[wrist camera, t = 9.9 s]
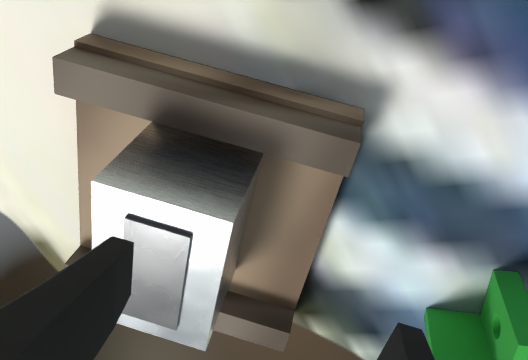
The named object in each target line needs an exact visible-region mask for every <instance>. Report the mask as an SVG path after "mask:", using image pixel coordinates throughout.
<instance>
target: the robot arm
mask: <svg viewBox="0 0 528 360" xmlns="http://www.w3.org/2000/svg"><path fill="white" fill-rule="evenodd" d="M133 253H134V242H131V241H128V240H125V239H122V238H118V237H115V236H111V237H109V238H108V239H106V240H105V241H103V242H102V243H101V244H99V245H98V246H96V247H95V248H94V249H92V250H91V251H89V252H88V253H86V254H85V255H84V256H82V257H81V258H79V259H78V260H76V261H75V262H73V263H72V264H70V265H69V266H67V267H66V268H64V269H63V270H61V271H60V272H58V273H57V274H55V275H54V276H52V277H51V278H49V279H48V280H46V281H45V282H43V283H41V284H40V285H38V286H37V287H35V288H33V289H32V290H30V291H28V292H26V293H25V294H23V295H21V296H20V297H18V298H16V299H15V300H13V301H11V302H10V303H8V304H6V305H4V306H3V307H1V308H0V360H93V359H94V358H95V356H96V355H97V353H98V352H99V350H100V349H101V347H102V346H103V344H104V343H105V341H106V340H107V338H108V337H109V335H110V333H111V332H112V330H113V329H114V327H115V325H116V323H117V321H118V319H119V318H120V316H121V314H122V312H123V310H124V308H125V306H126V304H127V302H128V300H129V298H130V296H131V287H132V270H133ZM377 360H435V358H434V356H433V354H432V351H431V349H430V347H429V344H428V342H427V340H426V338H425V335H424V333H423V331H422V330H421V329H418V328H415V327H411V326H408V325H405V324H401V323H398V324H397V326H396V327H395V329H394V331H393V333H392V334H391V336H390V338H389V340H388V341H387V343H386V345H385V347H384V348H383V350H382V352H381V354H380V355H379V357H378V359H377Z"/></svg>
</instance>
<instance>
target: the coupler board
mask: <svg viewBox="0 0 528 360" xmlns="http://www.w3.org/2000/svg"><path fill="white" fill-rule="evenodd" d="M52 58H53V75H54V92H55V94H58V95H61V96H65V97H68V98H72V99H75V100H76V114H77V147H78V180H79V212H80V247H79V248H78V249H77V250H76V251H75V252H74V254H73V255H72V256H71V257H70V258H69V259H68V261H67V262H66V263H65V268H66V267H67V266H69V265H70V264H72V263H73V262H75V261H76V260H78V259H79V258H81V257H82V256H84V255H85V254H86V253H88V252H89V251H91V250H92V201H91V181H92V180H93V179H94V178H95V177H96V176H97V175H98V174H99V173H100V172H101V171H102V170H103V169H104V168H105V167H106V166H107V165H108V164H109V163H110V162H111V161H112V160H113V159H114V158H115V157H116V156H117V155H118V154H119V153H120V152H121V151H122V150H123V149H124V148H125V147H126V146H127V145H129V144H130V143H131V142H132V141H133V140H134V139H135V138H136V137H137V136H138V135H139V134H140V133H141V132H142V131H143V130H144V129H145V128H146V127H147V126H148V125H149V124H150V123H151V122H156V123H159V124H163V125H166V126H170V127H173V128H177V129H180V130H184V131H187V132H191V133H194V134H198V135H201V136H205V137H208V138H212V139H215V140H219V141H222V142H226V143H229V144H233V145H236V146H240V147H243V148H246V149H250V150H253V151H257V152H260V153H263V158H262V162H261V166H260V170H259V174H258V178H257V183H256V187H255V191H254V195H253V199H252V203H251V208H250V212H249V216H248V220H247V224H246V228H245V233H244V237H243V241H242V245H241V249H240V253H239V258H238V262H237V266H236V270H235V273H234V275H233V278H232V281H231V283H230V286H229V289H228V291H227V294H226V297H225V299H224V302H223V305H222V307H221V310H220V313H219V316H218V318H217V321H216V324H215V326H214V329H213V330H214V331H218V332H221V333H224V334H227V335H230V336H234V337H237V338H240V339H243V340H246V341H250V342H253V343H256V344H259V345H262V346H266V347H269V348H272V349H276V350H279V351H282V352H283V351H284V348H285V346H286V343H287V340H288V337H289V335H290V331H291V325H292V320H293V315H294V310H295V308H296V305H297V302H298V299H299V297H300V294H301V291H302V288H303V286H304V283H305V280H306V277H307V275H308V272H309V269H310V266H311V264H312V261H313V258H314V256H315V253H316V250H317V247H318V245H319V242H320V239H321V236H322V234H323V231H324V228H325V225H326V223H327V220H328V217H329V214H330V212H331V209H332V206H333V204H334V201H335V198H336V195H337V193H338V190H339V187H340V184H341V182H342V179H343V176H345V177H349V174H350V172H351V169H352V166H353V164H354V161H355V158H356V156H357V153H358V150H359V147H360V145H361V129H362V124H363V121H364V109H361V108H358V107H354V106H350V105H347V104H343V103H339V102H336V101H332V100H329V99H325V98H321V97H318V96H314V95H310V94H307V93H303V92H300V91H296V90H292V89H289V88H285V87H281V86H278V85H274V84H271V83H267V82H263V81H260V80H256V79H252V78H249V77H245V76H242V75H238V74H234V73H231V72H227V71H223V70H220V69H216V68H213V67H209V66H205V65H202V64H198V63H195V62H191V61H187V60H184V59H180V58H176V57H173V56H169V55H166V54H162V53H158V52H155V51H151V50H147V49H144V48H140V47H137V46H133V45H129V44H126V43H122V42H118V41H115V40H111V39H108V38H104V37H100V36H97V35H93V34H88V35H86V36H84V37H81V38H79V39H77V40H75V41H74V47H73V48H71V49H69V50H66V51H64V52H62V53H60V54H58V55H56V56H54V57H52Z"/></svg>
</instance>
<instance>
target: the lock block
mask: <svg viewBox="0 0 528 360" xmlns="http://www.w3.org/2000/svg"><path fill="white" fill-rule="evenodd" d="M262 158H263V153H260V152H257V151H253V150H250V149H246V148H243V147H240V146H236V145H233V144H229V143H226V142H222V141H219V140H215V139H212V138H208V137H205V136H201V135H198V134H194V133H191V132H187V131H184V130H180V129H177V128H173V127H170V126H166V125H163V124H159V123H156V122H151V123H150V124H149V125H148V126H147V127H146V128H145V129H144V130H143V131H142V132H141V133H140V134H139V135H138V136H137V137H136V138H135V139H134V140H133V141H132V142H131V143H130V144H129V145H127V146H126V147H125V148H124V149H123V150H122V151H121V152H120V153H119V154H118V155H117V156H116V157H115V158H114V159H113V160H112V161H111V162H110V163H109V164H108V165H107V166H106V167H105V168H104V169H103V170H102V171H101V172H100V173H99V174H98V175H97V176H96V177H95V178H94V179H93V180H92V181H91V201H92V249H94V248H95V247H96V246H98V245H99V244H101V243H102V242H103V241H105V240H106V239H108V238H109V237H111V236H115V237H118V238H122V239H125V240H128V241H131V242H134V253H133V270H132V287H131V296H130V298H129V300H128V302H127V304H126V306H125V308H124V310H123V312H122V314H121V316H120V318H119V319H118V321H117V323H118V324H121V325H124V326H127V327H130V328H134V329H137V330H140V331H143V332H146V333H149V334H152V335H155V336H159V337H162V338H165V339H168V340H171V341H174V342H178V343H181V344H184V345H187V346H191V347H194V348H197V349H200V350H203V351H205V350H206V348H207V345H208V342H209V340H210V337H211V334H212V332H213V329H214V326H215V324H216V321H217V318H218V316H219V313H220V310H221V307H222V305H223V302H224V299H225V297H226V294H227V291H228V289H229V286H230V283H231V281H232V278H233V275H234V273H235V270H236V266H237V262H238V258H239V253H240V249H241V245H242V241H243V237H244V233H245V228H246V224H247V220H248V216H249V212H250V208H251V203H252V199H253V195H254V191H255V187H256V183H257V178H258V174H259V170H260V166H261V162H262Z"/></svg>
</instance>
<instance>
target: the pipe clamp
mask: <svg viewBox="0 0 528 360" xmlns="http://www.w3.org/2000/svg"><path fill="white" fill-rule="evenodd" d="M424 320H425V327H426V335H427V342H428V344H429V347H430V349H431V351H432V354H433V356H434V358H435V360H528V294H527V291H526V289H525V286H524V284H523V281H522V279H521V277H520V274H519V272H510V271H500V270H493V272H492V276H491V279H490V282H489V286H488V289H487V292H486V296H485V299H484V303H483V306H482V309H481V313H480V314H476V313H467V312H459V311H450V310H442V309H433V308H426V312H425V316H424Z"/></svg>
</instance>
